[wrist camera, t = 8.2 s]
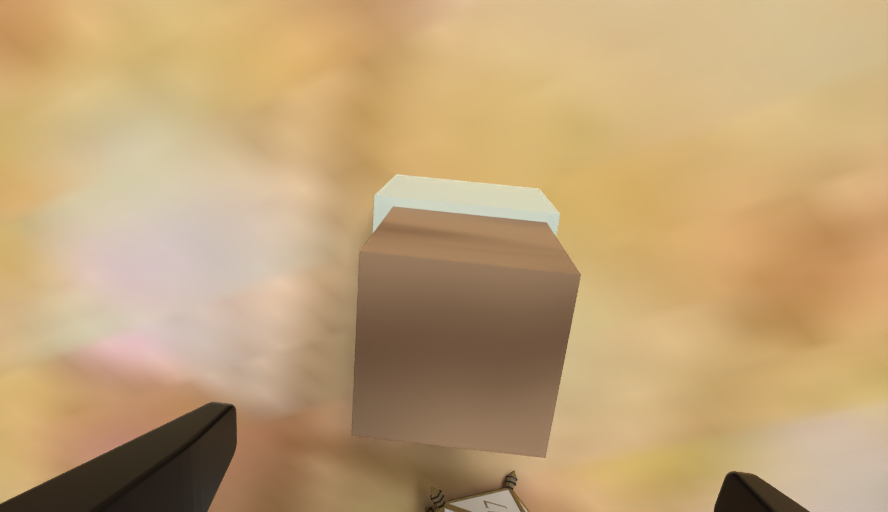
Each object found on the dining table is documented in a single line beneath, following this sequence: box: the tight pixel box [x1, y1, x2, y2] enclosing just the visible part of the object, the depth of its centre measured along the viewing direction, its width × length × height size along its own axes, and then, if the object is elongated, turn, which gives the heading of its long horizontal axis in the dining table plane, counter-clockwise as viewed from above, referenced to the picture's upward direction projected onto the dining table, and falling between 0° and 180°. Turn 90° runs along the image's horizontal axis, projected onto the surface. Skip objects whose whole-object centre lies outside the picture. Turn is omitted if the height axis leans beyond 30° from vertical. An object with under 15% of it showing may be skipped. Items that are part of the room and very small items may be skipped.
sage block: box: [373, 174, 560, 236], centre depth 19 cm, size 6×6×5 cm
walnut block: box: [352, 206, 581, 458], centre depth 14 cm, size 5×5×5 cm
